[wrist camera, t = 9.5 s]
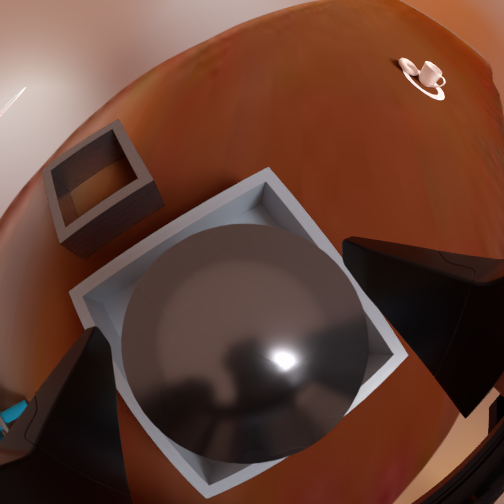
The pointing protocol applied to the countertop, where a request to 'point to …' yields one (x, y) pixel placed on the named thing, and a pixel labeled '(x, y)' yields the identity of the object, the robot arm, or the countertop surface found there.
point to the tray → (196, 220)
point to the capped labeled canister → (244, 343)
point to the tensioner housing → (109, 210)
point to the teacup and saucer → (424, 76)
